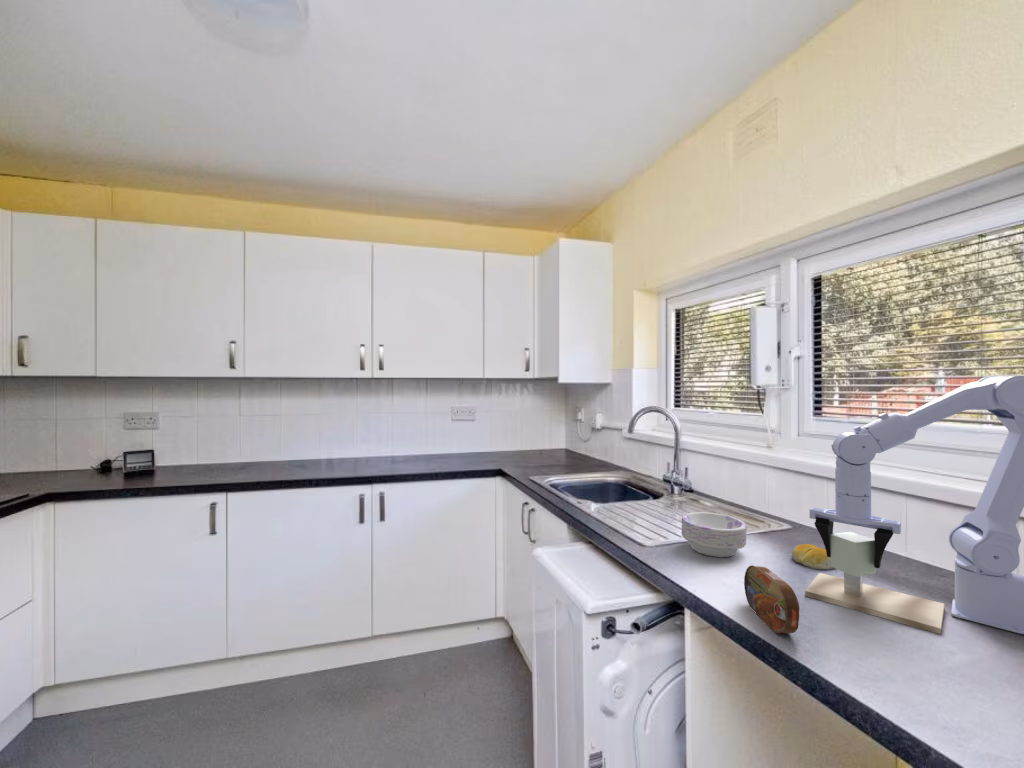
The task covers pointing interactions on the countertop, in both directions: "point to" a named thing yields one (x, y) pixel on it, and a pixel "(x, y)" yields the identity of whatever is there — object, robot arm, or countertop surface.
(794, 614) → the tin
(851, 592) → the grey and beige block
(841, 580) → the board
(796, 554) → the bread roll
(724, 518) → the paper bowls
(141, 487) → the countertop surface
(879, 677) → the countertop surface
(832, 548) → the pale green block
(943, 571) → the countertop surface
